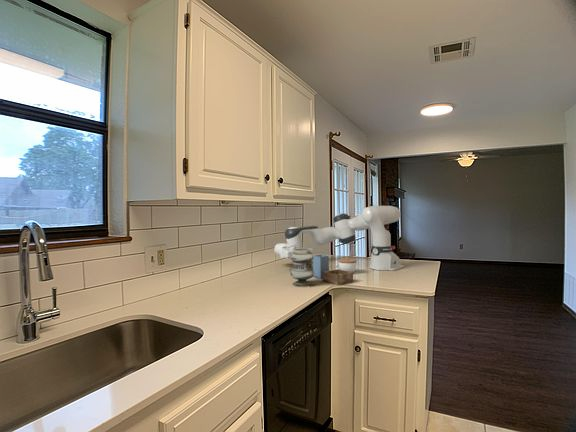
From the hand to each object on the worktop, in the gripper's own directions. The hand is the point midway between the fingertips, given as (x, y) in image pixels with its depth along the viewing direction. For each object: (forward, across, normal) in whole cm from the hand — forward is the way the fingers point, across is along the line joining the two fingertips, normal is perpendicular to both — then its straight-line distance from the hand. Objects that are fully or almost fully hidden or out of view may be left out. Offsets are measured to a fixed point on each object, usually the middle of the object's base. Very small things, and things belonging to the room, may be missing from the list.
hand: (306, 254), depth 191 cm
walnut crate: (+25, -1, -12) cm, 28 cm away
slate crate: (+12, 0, -12) cm, 17 cm away
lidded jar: (+13, -20, -12) cm, 27 cm away
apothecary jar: (+18, +17, -12) cm, 28 cm away
